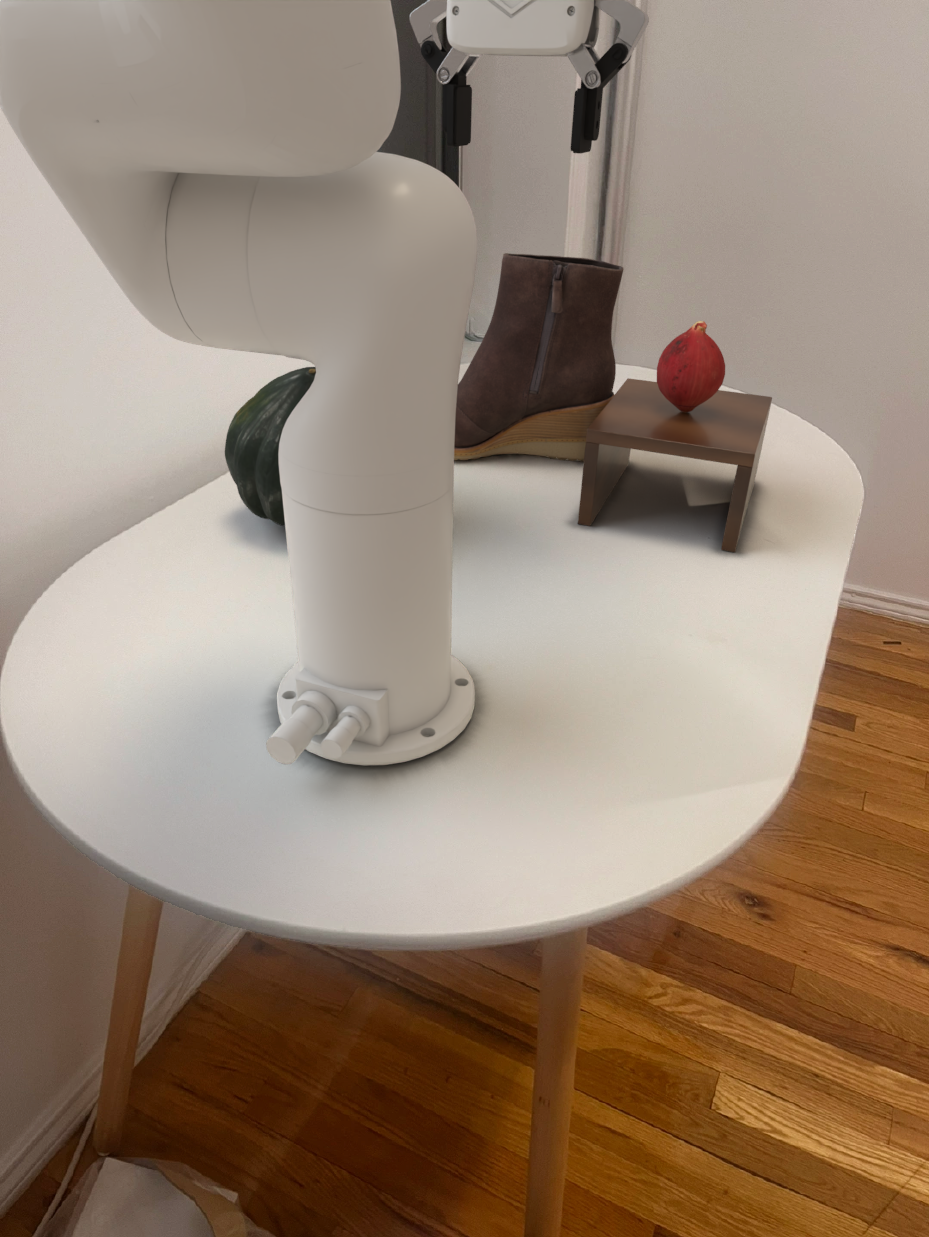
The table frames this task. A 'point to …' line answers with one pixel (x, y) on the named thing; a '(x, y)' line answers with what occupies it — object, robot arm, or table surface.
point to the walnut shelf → (674, 442)
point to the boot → (540, 360)
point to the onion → (690, 368)
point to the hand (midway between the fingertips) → (518, 148)
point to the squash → (264, 442)
